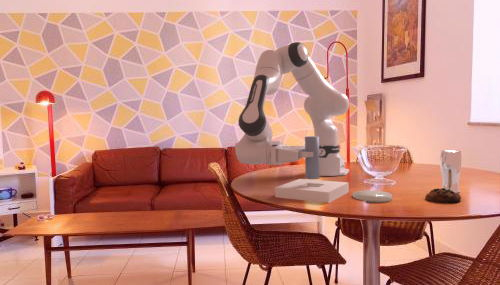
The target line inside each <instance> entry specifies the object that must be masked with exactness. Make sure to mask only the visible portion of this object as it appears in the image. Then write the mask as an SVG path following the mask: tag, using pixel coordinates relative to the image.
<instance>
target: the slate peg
mask: <svg viewBox="0 0 500 285" xmlns="http://www.w3.org/2000/svg"><path fill="white" fill-rule="evenodd" d="M304 146H305V152H314V156H313V157H305V159H304V160H305V161H304V165H305V166H304V169H305V172H304V173H305V179H308V180H320V176H319V137H318V136H314V135H313V136H312V135H311V136H309V135H308V136H305V137H304Z"/></svg>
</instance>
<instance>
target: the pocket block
mask: <svg viewBox="0 0 500 285" xmlns="http://www.w3.org/2000/svg"><path fill="white" fill-rule="evenodd" d="M349 184H350V183H349V182H346V181H345V182H343V181H333V180H320V179H306V178H304V179H303V178H298V179H295V180H293V181H289V182H287V183H284V184H280V185H278V186H275V187H274V189H275V191H274V192H275V193H274V194H275V197H274V198H279V199H287V200H298V201H306V202H315V203H316V202H318V203H324V204H325V203H327V204H330V203H332V202H333V201H335V200H337V199H339V198H340V197H342V196H345V195H346V194H348V193H349V189H350V188H349V186H350V185H349Z"/></svg>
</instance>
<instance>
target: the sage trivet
mask: <svg viewBox="0 0 500 285" xmlns="http://www.w3.org/2000/svg"><path fill="white" fill-rule="evenodd" d="M352 198H354V199H356V200H359V201H360V200H361V201H363V202H364V201H365V203H375V204H376V203H377V204H378V203H379V204H380V203H388V202H391V201H393V194H392V193H390V192H387V191H382V190H358V191H357V190H356V191H353V193H352Z"/></svg>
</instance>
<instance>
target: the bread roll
mask: <svg viewBox="0 0 500 285" xmlns="http://www.w3.org/2000/svg"><path fill="white" fill-rule="evenodd" d="M424 197H425V200H427V201H430V202H434V203H439V204H457V203H460V202H461V199H462V197H461V195H460V194H459V193H455V192H453V191H451V190H450V189H448V190H446V189H445V188H442V187H441V188H439V187H438V188H433V189H431V190H430V191H429V192H427V193H426V195H425V196H424ZM459 201H460V202H459Z"/></svg>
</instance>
